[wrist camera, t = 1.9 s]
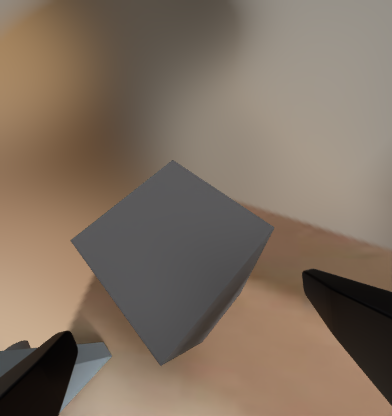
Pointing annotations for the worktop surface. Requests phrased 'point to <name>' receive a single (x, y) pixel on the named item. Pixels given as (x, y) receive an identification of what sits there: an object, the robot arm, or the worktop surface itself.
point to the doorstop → (174, 257)
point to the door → (83, 370)
